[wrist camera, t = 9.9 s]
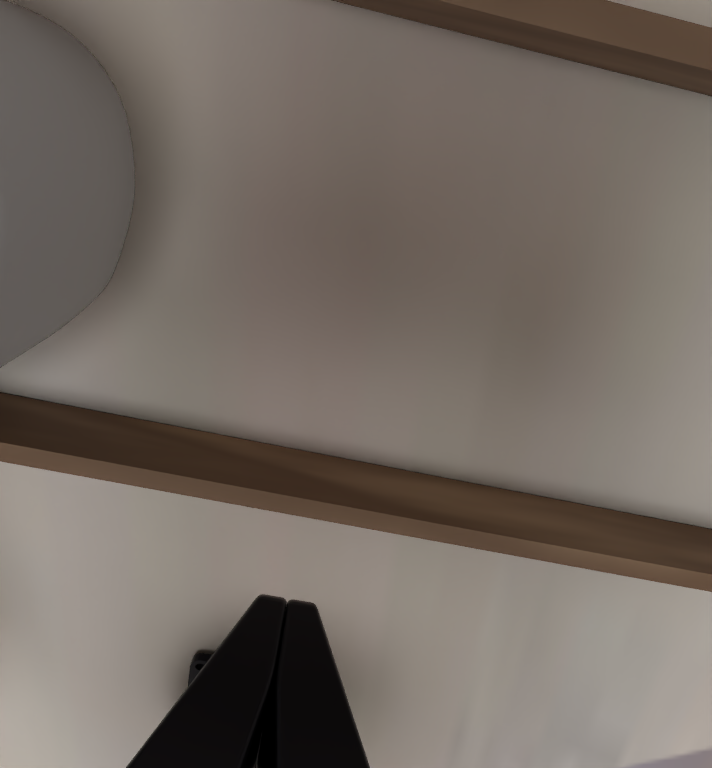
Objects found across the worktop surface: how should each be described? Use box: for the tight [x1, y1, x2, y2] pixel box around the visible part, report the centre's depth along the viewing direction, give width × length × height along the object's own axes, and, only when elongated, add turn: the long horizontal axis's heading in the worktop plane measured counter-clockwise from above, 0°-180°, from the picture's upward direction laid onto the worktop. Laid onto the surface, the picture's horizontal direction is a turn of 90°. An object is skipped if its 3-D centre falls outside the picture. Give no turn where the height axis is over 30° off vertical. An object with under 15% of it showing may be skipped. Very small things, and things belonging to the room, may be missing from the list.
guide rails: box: [0, 0, 712, 592], centre depth 16 cm, size 17×41×4 cm, turn 78°
